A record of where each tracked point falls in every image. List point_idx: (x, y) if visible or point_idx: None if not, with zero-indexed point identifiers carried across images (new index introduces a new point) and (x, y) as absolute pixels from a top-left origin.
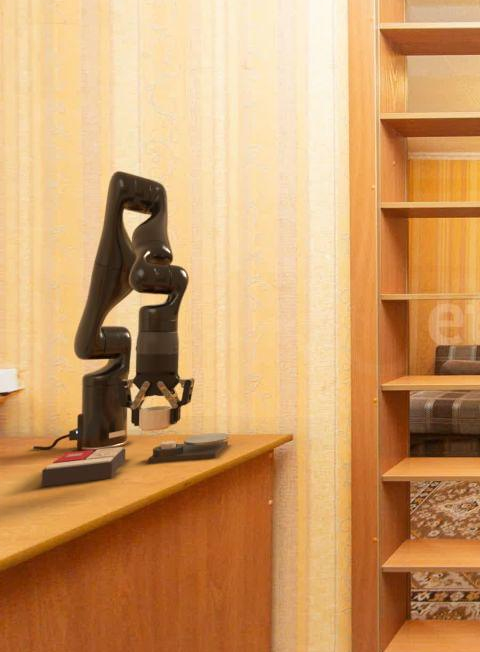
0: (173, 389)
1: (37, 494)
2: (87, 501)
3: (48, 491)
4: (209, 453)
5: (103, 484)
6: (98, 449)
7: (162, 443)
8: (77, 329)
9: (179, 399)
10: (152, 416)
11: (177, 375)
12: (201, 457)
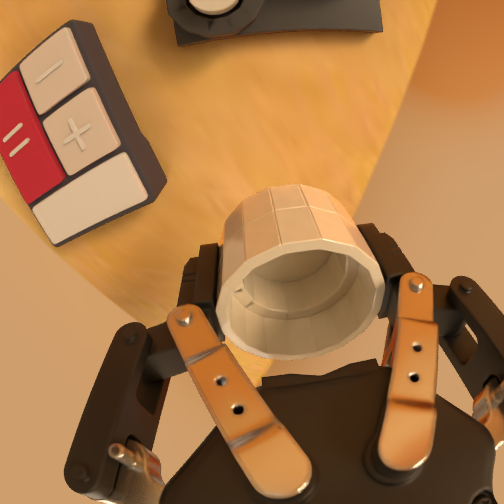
0: (429, 376)
1: (98, 257)
2: None
3: (102, 244)
4: (366, 30)
5: (179, 216)
6: (21, 65)
7: (197, 2)
8: None
9: (433, 304)
10: (306, 335)
11: (481, 481)
12: (339, 30)
